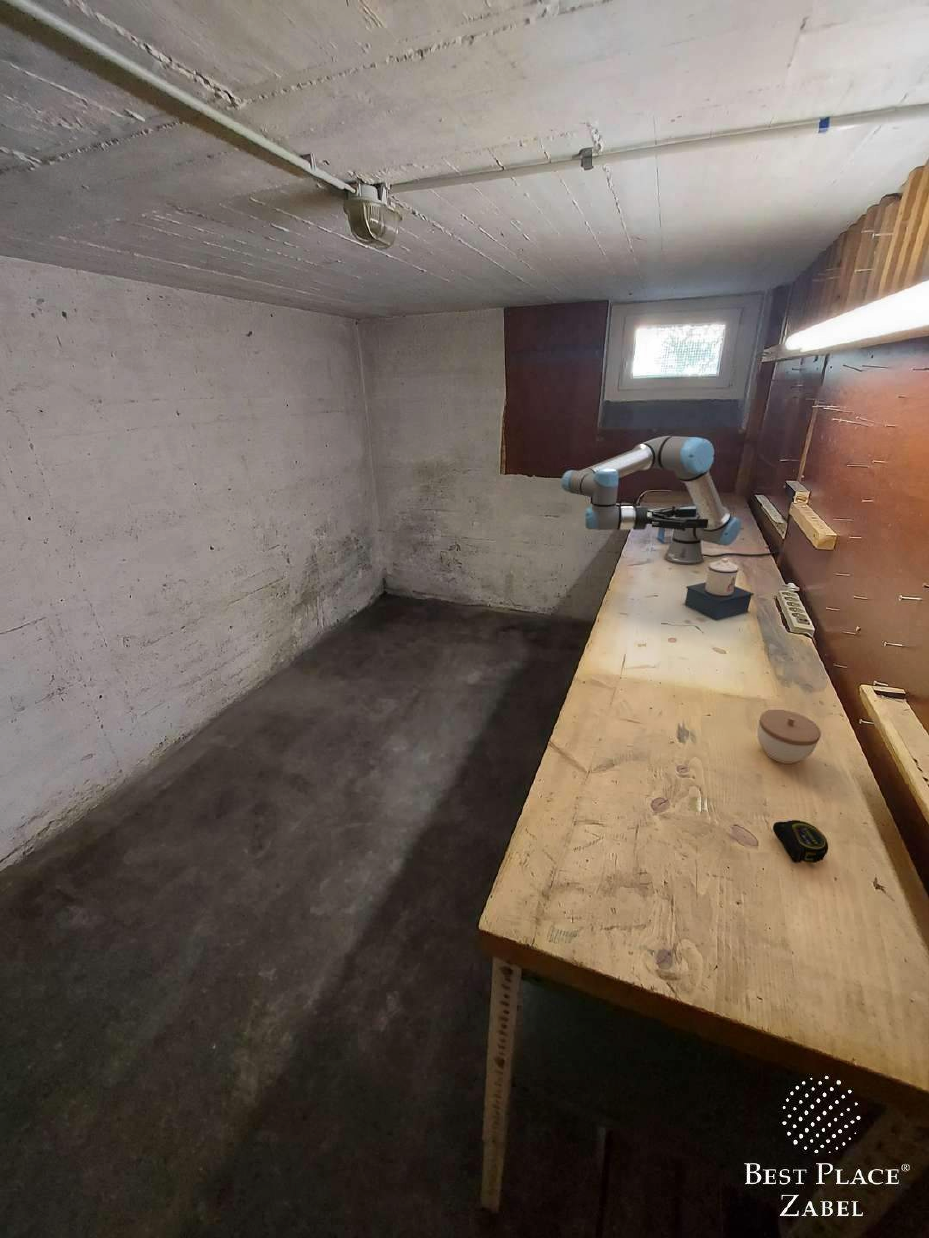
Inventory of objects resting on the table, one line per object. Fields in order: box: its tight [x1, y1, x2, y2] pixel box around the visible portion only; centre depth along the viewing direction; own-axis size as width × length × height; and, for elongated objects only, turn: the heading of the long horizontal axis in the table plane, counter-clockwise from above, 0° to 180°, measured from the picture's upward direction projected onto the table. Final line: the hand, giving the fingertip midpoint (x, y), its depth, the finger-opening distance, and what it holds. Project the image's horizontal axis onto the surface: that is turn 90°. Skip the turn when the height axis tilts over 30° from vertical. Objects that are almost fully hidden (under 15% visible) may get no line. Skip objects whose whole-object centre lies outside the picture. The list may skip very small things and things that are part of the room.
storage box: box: [684, 581, 754, 621], centre depth 167 cm, size 15×15×7 cm
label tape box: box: [657, 527, 673, 544], centre depth 238 cm, size 9×4×12 cm, turn 179°
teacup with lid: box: [705, 557, 740, 596], centre depth 163 cm, size 12×9×12 cm
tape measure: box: [772, 819, 829, 864], centre depth 82 cm, size 7×7×4 cm
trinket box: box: [757, 709, 822, 765], centre depth 101 cm, size 11×11×9 cm
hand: (701, 518), depth 156 cm, fingers open, 13 cm apart
